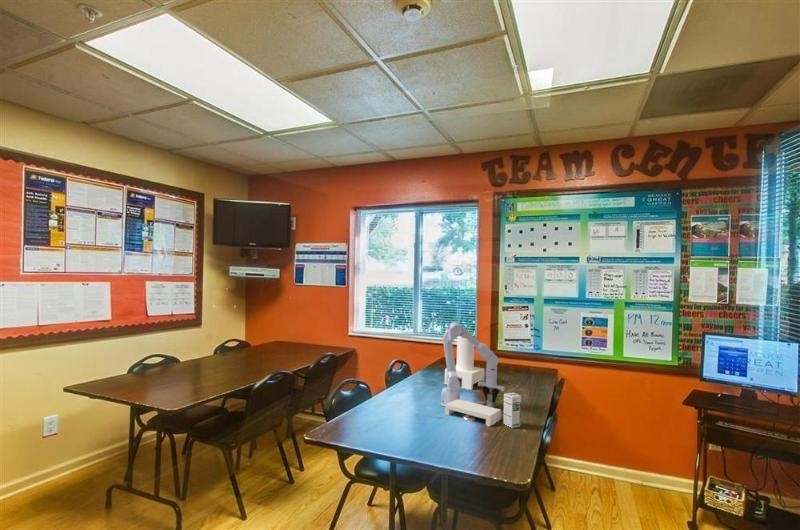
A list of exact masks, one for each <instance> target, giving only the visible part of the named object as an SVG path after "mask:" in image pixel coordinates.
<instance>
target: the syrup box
mask: <svg viewBox="0 0 800 530" xmlns="http://www.w3.org/2000/svg"><path fill="white" fill-rule="evenodd" d="M521 419H522V395H521V394H518V393H516V392H509V393H504V394H503V425H504V424H505V426H506V425H507V427H508V426H509V427H508V428H510V427H511V428H510V429H513V428H518V427H519V428H520V427H521V426H522V425H521V424H522V420H521Z"/></svg>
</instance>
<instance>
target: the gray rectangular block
mask: <svg viewBox="0 0 800 530" xmlns="http://www.w3.org/2000/svg"><path fill="white" fill-rule="evenodd" d="M495 403H496V402H495ZM495 403H492V392H489V393H488V394H487V402H486V406H488V407H492V408H495ZM470 416H472V415H470ZM473 417H476V416H473ZM475 419H481V418H480V417H476V418H475Z"/></svg>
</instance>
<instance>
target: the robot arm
mask: <svg viewBox="0 0 800 530" xmlns="http://www.w3.org/2000/svg"><path fill="white" fill-rule="evenodd" d="M458 336H462V337H466V338H467V339H468V340H469V341H470V342H471V343H472V344H473V345H474V348H475V351H476V352H477V353H478V354H479V355H480V357H481V358H483V360H485V362H486V367H485V381H484V382H478V383H477V386H478V387H482V388H481V389H482V392H483V395H484V398H485V401H486V403H487V394H488V393H492V403H496V400H497V397H498V395H499V393H500V391H501V392H505V390H506V389H505V388H506V387H505V386H502V385H500V384H498V383H497V382H498V381H497V380H498V364H499V357H498V356H497V355H496V354H495V353H494V351H493V350H491V349H490V348H489V347H488V345H487V343H483V342H479V340H478V339H476V337H474V335H472V333H471V332H470V331H469V330H468V329H466V328H465V327H464V326H463V325H461V324H459V322H457V321H453V322H452V321H451V322H450V324H449V325H448V326H447V327H446V329H445V332H444V335H443V336H442V343H443V349H444V350H443V351H444V356H445V363H446V368H447V375H448V376H447V384H448V385H446V386H445V387H443V388H442V389H441V393H440V404H439V405H440V406H442V407H446V404H447V403H450V402H452V401H454V400H457V399H459V400H461V399H460V397H461V395H460V394H461V382H460V379H458V377H457V373H456V366H455V365H456V362H455V354H454V347H453V346H454V345H453V341H454V340H455V339H457V337H458ZM490 390H491V392H490Z"/></svg>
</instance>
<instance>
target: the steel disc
mask: <svg viewBox="0 0 800 530" xmlns="http://www.w3.org/2000/svg"><path fill="white" fill-rule="evenodd" d="M464 420H465V421H464ZM474 420H476V418H475V417H473V416H470V415H468V414H465V415H462V421H464V422H468V421H472V422H475V421H474Z"/></svg>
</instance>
